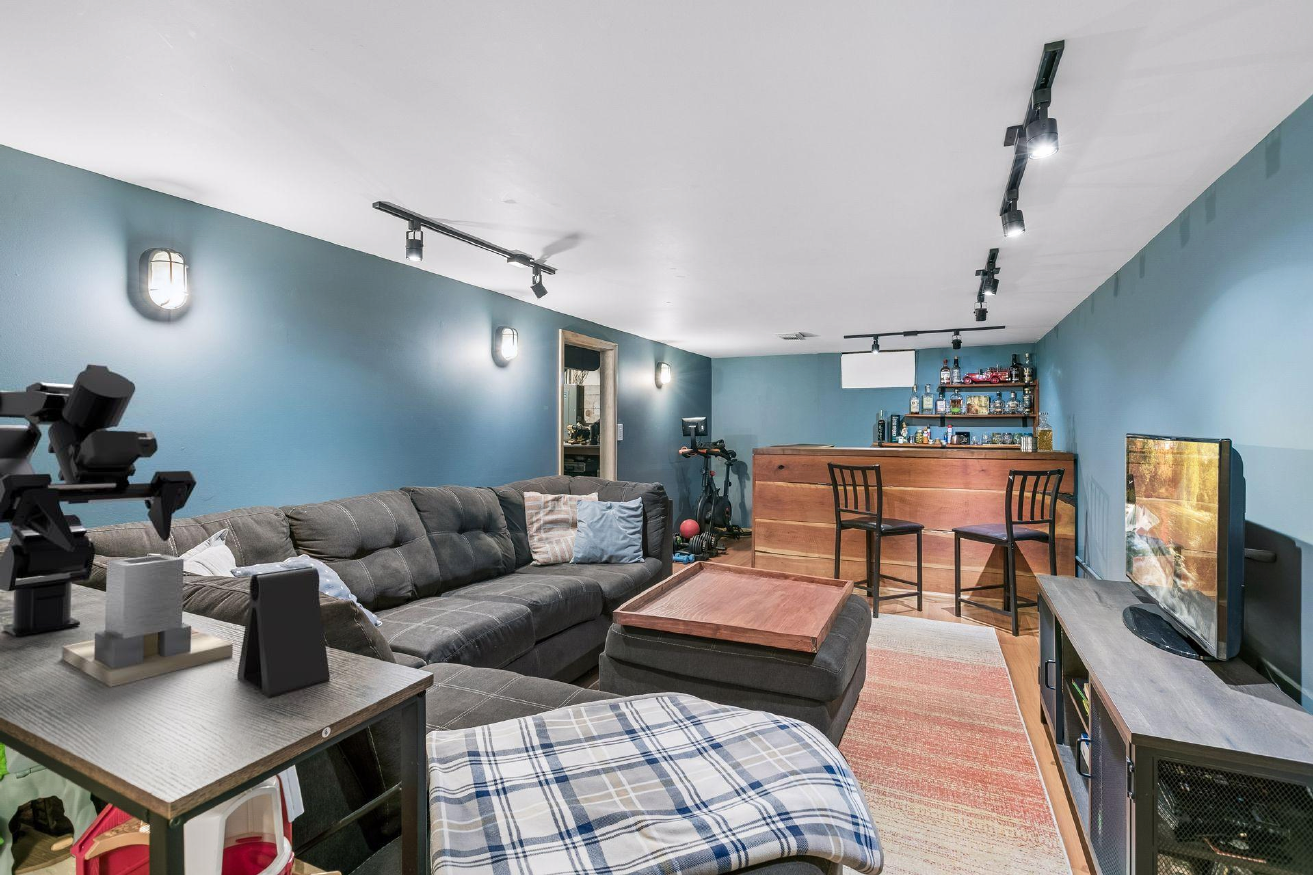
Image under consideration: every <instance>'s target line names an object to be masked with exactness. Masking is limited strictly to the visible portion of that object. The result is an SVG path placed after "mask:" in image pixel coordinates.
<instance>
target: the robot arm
mask: <svg viewBox="0 0 1313 875" xmlns="http://www.w3.org/2000/svg"><path fill="white" fill-rule="evenodd" d="M135 392H136V385H135V383H134V381H131V380H130V379H128V378H127V377H125V376H123V375H121V374H119V373H116V372H113V371H111V370H109V367H108V366H107V365H101V364H100V365H98V364H90V363H89V364H87V365H86V367H85V370H83V371H81V372H79V373H78V375H77V376H76V378H75V381H74V383H73V384H66V383H57V382H55V383H53V382H41V381H39V382H38V381H37V382H35V383H33V384H30V385H27V386H26V387H25V391H12V390H0V418H11V419H15V418H16V419H24V420H25V421H27V422H28V423H29V425H28V426H27V425H24V424H0V524H4V523H5V524H6V523H7V524H8V525H9V527H10V529H11V531H12V532H11V535H10V537H9V541H8V544H7V546H6V547H5V549H4V551H3V553H2V554H1V557H0V590H1V591H5V592H13V604H12V605H13V607H12V608H13V610H12V624H6V625H3V628H2V629H3V630H4V631H5V632H7V633H9V634H10V635H13V636H14V637H23V636H28V635H32V634H38V633H43V632H44V633H45V632H49V631H54V630H60V629H66V628H71V627H77V626H78V627H79V626H80V625H81V621H79V620H77V619H75V618H73V617H72V616H71V615H72V614H71V613H72V588H73V586H72V584H73V582H79V581H89V580H90V576H91V575H92V569H93V565H94V559H95V556H96V551H97V548H96V547H95V545H94V541H93V540H92V539H91V538H90V537H89V535H87V533H88V530H87V529H85V527H84V526H83V524H82V522H81V519H80V517H79V516H78V515H76V514H74V513H69V514H64V512H63V510H62V507H61V503H62V502H63V503H66V502H67V504H68V505H75V504H77V505H78V504H97V503H111V502H112V503H114V502H130V501H131V502H132V501H144V504H145V507H146V509H147V510H148V512H147V516H148V518H149V520H150V523H151V524H152V526H153V527H154V529H155V531H156V533H157V535H158V537H159V538H161V540H162V541H163V542H167V541H168V540H169V539H170V536H171V528H172V518H173V514H175V513H176V511H180V510H181V509H183V508H184V507H185V506H186V504H187V502H188V500H189V498H190V496H191V494H192V492H193V491H194V489H195V487H196V485H197V481H196V478H195V477H194V474H192V472H191V471H190V470H168V471H167V470H163V471H162V470H161V471H158V470H157V471H155V472H154V475H153V476H152V478H151V480H150V482H147V483H146V482H143V483H130V481H129V477H133V476H134V475H135V473H136V471H137V468H136V466H135V463H136V462H137V460H138V459H140V458H143V459H144V458H146V459H149V458H151V457H152V456H154V455H155V453H156V452H157V451H158V449H159V448H158V446H159V445H158V441H157V438H156V436H155V435H154V433H153V432H152V431H151V430H149V431H148V430H136V431H132V430H131V431H130V430H108V429H110V428H114V427H115V428H116V427H118V426H119V425H120V422H121V421H122V418H123V416H124V414H125V412H126V410H127V408H128V406H129V404H130V402H131V400H132V398H133V396H134V394H135ZM40 426H49V428H48V429H47V436H48V439H49V444H48V448H47V452H48V454H55V458H56V460H57V463H58V465H59V472H58V475H57V476H58V479H59V480H58V481H61V482H63V483H52V481H53V479H52V477H51V474H50V473H36V472H35V471H34V469H33V466H32V464H31V462H30V461H31V460H32V456H33V454H34V452H35V450H36V448H38V444H39V442H40V440H41V438H42V436H43V435H42V434H43V433H42V431H41V429H40ZM64 482H65V483H64Z"/></svg>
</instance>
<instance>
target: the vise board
mask: <svg viewBox="0 0 1313 875" xmlns="http://www.w3.org/2000/svg"><path fill="white" fill-rule="evenodd" d="M233 646H234V644H233V643H232V642H229V641H226V640H224V639H220V638H218V637H215V636H213V635H209V634H207V633H205V632H202V631H199V630H196V629H193V628H192V625H190V624H186V623H184V622H182V627H181V628H176V629H171V630H166V631H161V632H156V633H151V634H146V635H142V636H137V637H132V638H127V639H121V638H119V637H117V636H115V635H112V634H110V633H108V632H106V631H105V630H102V631H96V632H94V639H92V640H87V641H83V642H77V643H72V644H68V645H62V647H61V648H62V649H61V659H62V660H63V661H65V662H67V663H69V664H70V665H72V666H73V667H75V668H77V669H79V670H81V671H82V672H84V673H86V674H87V675H89V676H90V677H92V678H95V679H96V680H98V681H99V682H101V683H104V685H106V686H108V687H110V688H112V687H116V686H121V685H125V684H129V683H132V682H137V681H139V680H144V679H149V678H152V677H155V676H160V675H164V674H167V673H171V672H175V671H179V670H183V669H187V668H191V667H195V666H200V665H203V664H207V663H212V662H215V661H218V660H222V659H227V658H231V657H233V652H234V651H233V650H234V648H233Z"/></svg>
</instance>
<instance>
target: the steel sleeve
mask: <svg viewBox="0 0 1313 875" xmlns="http://www.w3.org/2000/svg"><path fill="white" fill-rule="evenodd" d="M184 560H185V559H184V558H182V557H177V556H173V555H168V554H157V555H149V556H140V557H132V558H122V559H114V560H106V582H105V583H106V587H105V588H106V590H105V591H106V592H105V593H106V594H105V619H104V620H105V621H104V622H105V623H104V624H105V626H104V631H106V632H108V633H110V634H112V635H115V636H117V637H119V638H121V639H127V638H132V637H137V636H142V635H146V634H151V633H156V632H161V631H166V630H171V629H176V628H181V627H182V623H183V605H184V604H183V603H184V602H183V601H184V598H183V597H184V565H185V564H184Z"/></svg>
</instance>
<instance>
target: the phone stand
mask: <svg viewBox="0 0 1313 875" xmlns="http://www.w3.org/2000/svg"><path fill="white" fill-rule="evenodd" d="M319 574H320V573H319V571H318V569H317V567H313V566H306V567H300V568H292V569H286V570H284V569H283V570H278V571H271V572H264V573H256V574H252V575H251V577H250V581H249V601H248V607H247V608H248V609H247V615H246V622H245V627H244V632H243V638H242V645H241V651H240V657H239V663H238V666H237V677H236V678H237V679H238V680H240V681H241V682H243V683H244V684H246V685H247V686H249V687H251V688H252V689H254V690H255V691H257V692H258V693H259V694H262V695H263V696H264V697H266V698H268V699H270V698H274V697H277V696H280V695H284V694H287V693H290V692H294V691H298V690H301V689H304V688H308V687H311V686H314V685H318V684H322V683H325V682H328V681H329V682H330V679H331V676H330V669H329V668H330V667H329V663H328V654H327V647H326V639H325V631H324V623H323V615H322V609H321V600H320V575H319Z"/></svg>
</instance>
